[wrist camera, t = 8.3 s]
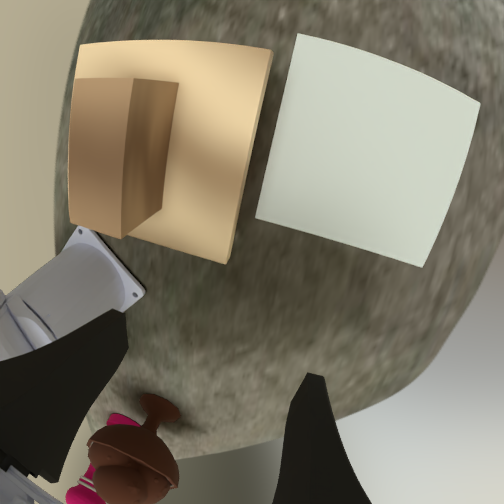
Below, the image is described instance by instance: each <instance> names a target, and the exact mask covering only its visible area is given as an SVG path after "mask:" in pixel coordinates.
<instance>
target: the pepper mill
mask: <svg viewBox="0 0 504 504" xmlns="http://www.w3.org/2000/svg"><path fill="white" fill-rule="evenodd" d="M115 424H128V425H134V426H139V427H140V425H139V424H137V423H136V422H134V421H133V420H131V419H130V418H128V417H125V416H123V415H120V414H112V415H111V416H110V417H109V419H108V421H107V426H108V425H115ZM95 470H96V469H95V468H94V467H93V466H92V464H91V463H90V465H89V468H88V470H87V472H86V473H85V475H84V476H80V479H79V480H78V481H77V482H78V484H79V485H78V486H75V487H71V488H70V489H69V490H68V491H67V493H66V503H67V504H106V503H105V501H104V500H103V499H102V498H101V497H100V496H99V495H98V494H97V493H96V490H95V488H94V485H93V480H92V478H93V473H94V472H95Z"/></svg>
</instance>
